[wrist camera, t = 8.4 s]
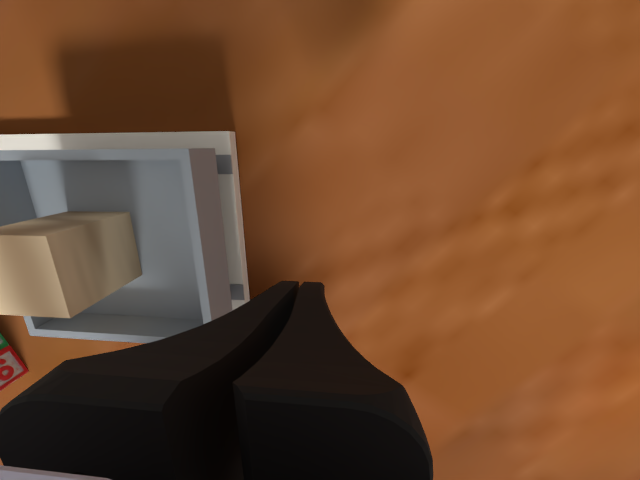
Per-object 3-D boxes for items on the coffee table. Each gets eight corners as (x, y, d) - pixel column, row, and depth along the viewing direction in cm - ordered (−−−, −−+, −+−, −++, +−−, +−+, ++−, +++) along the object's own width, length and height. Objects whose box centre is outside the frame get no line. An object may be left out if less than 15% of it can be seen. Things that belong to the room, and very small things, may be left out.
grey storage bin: (243, 307, 22) (215, 347, 17) (91, 299, 23) (30, 335, 19) (227, 147, 18) (188, 148, 14) (52, 149, 20) (-34, 150, 15)
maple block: (84, 272, 19) (-5, 314, 14) (67, 211, 18) (-36, 234, 13) (142, 274, 19) (70, 318, 14) (129, 211, 18) (45, 236, 13)
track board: (250, 309, 23) (245, 317, 22) (1, 296, 26) (-14, 303, 25) (235, 131, 19) (228, 130, 18) (-57, 136, 22) (-78, 135, 21)
